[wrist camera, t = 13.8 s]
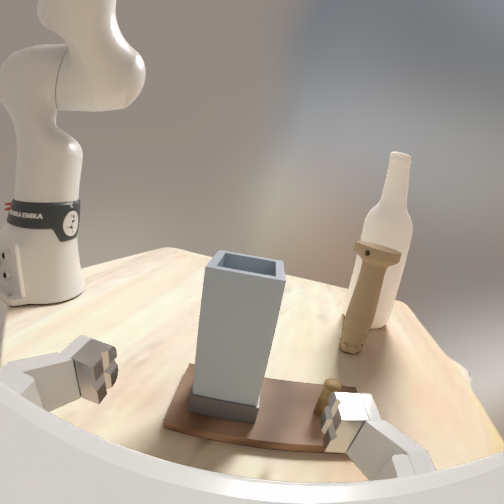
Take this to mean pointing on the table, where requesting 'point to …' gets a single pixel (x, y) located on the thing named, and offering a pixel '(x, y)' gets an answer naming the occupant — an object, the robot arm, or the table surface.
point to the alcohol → (388, 234)
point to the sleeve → (235, 334)
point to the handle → (366, 293)
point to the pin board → (262, 416)
